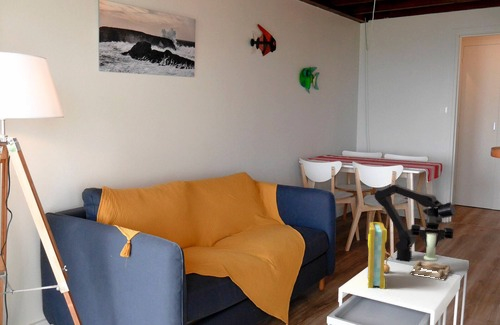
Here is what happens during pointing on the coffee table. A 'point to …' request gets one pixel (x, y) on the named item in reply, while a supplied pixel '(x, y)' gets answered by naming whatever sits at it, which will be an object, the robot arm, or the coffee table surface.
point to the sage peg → (431, 248)
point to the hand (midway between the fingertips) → (431, 246)
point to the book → (376, 254)
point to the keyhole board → (440, 268)
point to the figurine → (386, 267)
